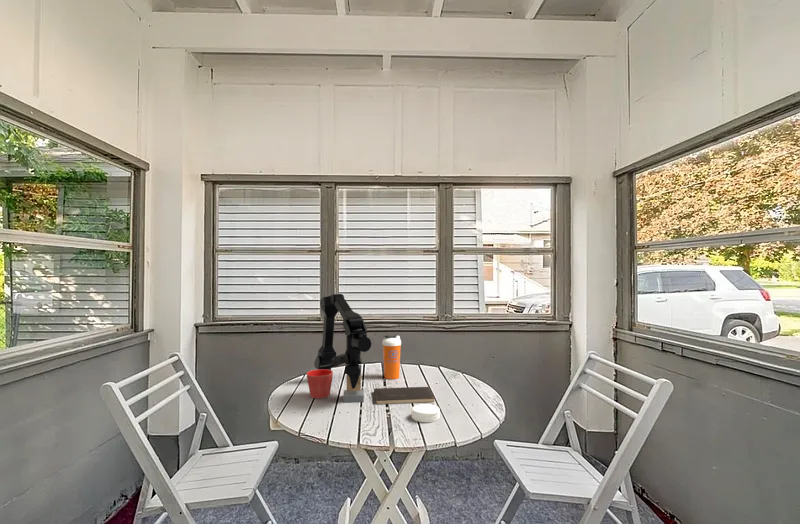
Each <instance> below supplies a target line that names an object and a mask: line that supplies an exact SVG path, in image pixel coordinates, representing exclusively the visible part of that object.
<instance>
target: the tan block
mask: <svg viewBox="0 0 800 524" xmlns="http://www.w3.org/2000/svg"><path fill="white" fill-rule="evenodd" d="M361 375H362V373H361V374H360V376H359V379H358V381H357V384H356V387H355V388H354V389H352V386H351V381H350V377H349V376H348V375H347V374H346V390H347V391H361V390H362V376H361Z"/></svg>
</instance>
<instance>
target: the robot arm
mask: <svg viewBox="0 0 800 524" xmlns="http://www.w3.org/2000/svg"><path fill="white" fill-rule="evenodd" d="M319 305H320V310H321V312H322V313H323V324H322V325H323V327H322V342H321V346H320V348H319V349H318V351H317V356H316V358H315V361H314V363H313V364H314V365H313V366H314V368H315V369H316V370H319V369H327V370H331V371H332V368H337V367H339V366H341V365H344V364H345V365H346V366H344V374H345V375H346V376H347V375H348V376H349V377H350V381H351V386H352V389H354V388H355V387H356V384H357V381H358V379H359V376H360V374H361V375H362V362H363V361H362V360H363V359H362V357H361V356H362V354H361V353H367V352H368V351H369V350H370V349H371V347H372V341H371V339H370V338H369V337H368V334H367V333H368V331H367V330H368V328H367V325H366V324H365V321H364V318H362V316H361V315H360V313H358V312H355V311H354V310H353V309H352V307H351V306H350V305H349V303H348V301H346V299H345V296H344V294H342V293H333V294H331V295H328V296H322V298H321V299H320V300H319ZM338 313H339V314H340V316H341V318H342V326H343V329H344V331H345V332H344V335H346V336H345V338H346V339H345V341H346V342H345V343H346V345H345V346H346V348H345V352H344V353H341V354H338V355H337V352H336V351H335V349H334V335H335V334H334V333H335V320H336V319H335V318H336V316H337V314H338ZM332 380H333V376H332Z"/></svg>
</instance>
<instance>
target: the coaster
mask: <svg viewBox="0 0 800 524" xmlns="http://www.w3.org/2000/svg"><path fill="white" fill-rule="evenodd" d="M440 410H441V409H440V407H439V406H437V405H434V404H429V403H424V404H423V403H421V404H420V403H419V404H416V405H414V406H412V408H411V418H412V419H411V420H413V419H414V420H413V421H415V422H418V423H434V422H437V421H439V420H440V417H441V416H440V414H441V413H440V412H441V411H440Z"/></svg>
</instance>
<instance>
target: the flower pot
mask: <svg viewBox="0 0 800 524" xmlns="http://www.w3.org/2000/svg"><path fill="white" fill-rule="evenodd" d="M333 374H334V372H333V370H332V369H331V370H327V369H313V370H308V371H307V372H306V380H307V385H308V389H309V396H310V397H311V398H312V399H315V400H316V399H317V400H318V399H325V398H328V397H330V395H331V388H332V382H333V379H332V377H333Z"/></svg>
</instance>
